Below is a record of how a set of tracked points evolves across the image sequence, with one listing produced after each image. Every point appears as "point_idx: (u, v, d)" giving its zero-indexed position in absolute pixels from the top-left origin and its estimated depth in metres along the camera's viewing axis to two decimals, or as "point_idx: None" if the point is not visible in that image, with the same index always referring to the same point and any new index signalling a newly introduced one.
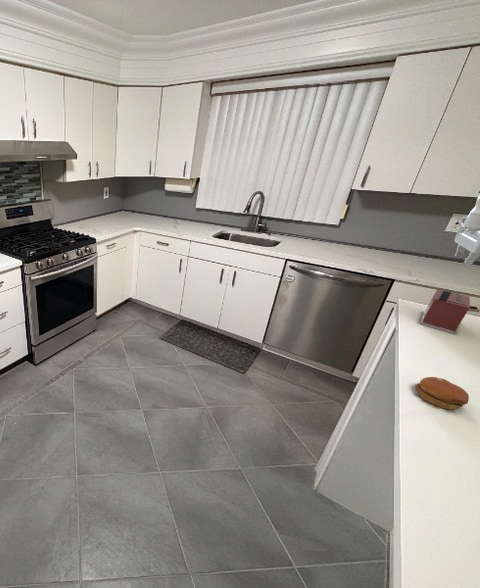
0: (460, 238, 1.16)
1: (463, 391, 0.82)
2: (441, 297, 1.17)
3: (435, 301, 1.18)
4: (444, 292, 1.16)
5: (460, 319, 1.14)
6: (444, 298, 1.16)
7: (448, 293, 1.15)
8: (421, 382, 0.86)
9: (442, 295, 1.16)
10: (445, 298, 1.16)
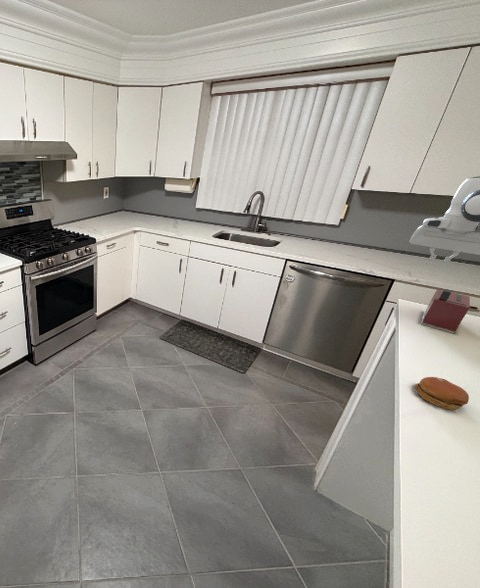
0: (428, 240, 1.15)
1: (463, 391, 0.82)
2: (441, 297, 1.17)
3: (435, 301, 1.18)
4: (444, 292, 1.16)
5: (460, 319, 1.14)
6: (444, 298, 1.16)
7: (448, 293, 1.15)
8: (421, 382, 0.86)
9: (442, 295, 1.16)
10: (445, 298, 1.16)
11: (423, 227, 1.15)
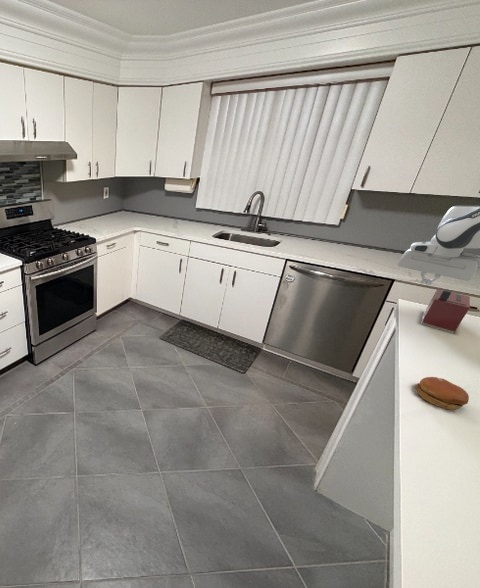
0: (415, 263, 1.19)
1: (463, 391, 0.82)
2: (441, 297, 1.17)
3: (435, 301, 1.18)
4: (444, 292, 1.16)
5: (460, 319, 1.14)
6: (444, 298, 1.16)
7: (448, 293, 1.15)
8: (421, 382, 0.86)
9: (442, 295, 1.16)
10: (445, 298, 1.16)
11: (410, 251, 1.18)
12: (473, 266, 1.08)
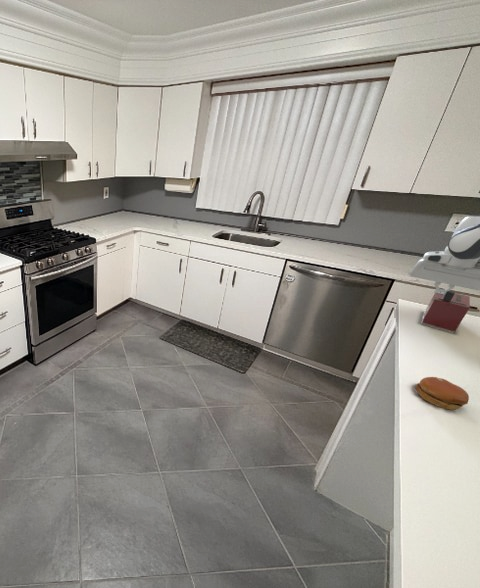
0: (428, 273, 1.17)
1: (463, 391, 0.82)
2: (445, 298, 1.16)
3: (435, 301, 1.18)
4: (448, 293, 1.15)
5: (460, 319, 1.14)
6: (448, 299, 1.16)
7: (452, 294, 1.15)
8: (421, 382, 0.86)
9: (446, 296, 1.16)
10: (449, 299, 1.15)
11: (424, 261, 1.17)
12: None
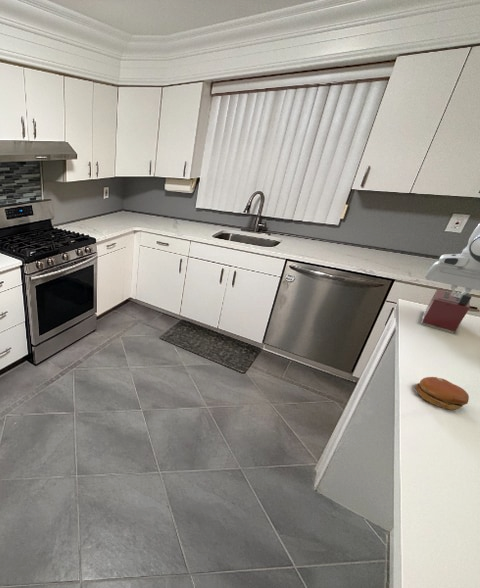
0: (444, 276, 1.14)
1: (463, 391, 0.82)
2: (461, 302, 1.13)
3: (435, 301, 1.18)
4: (464, 297, 1.12)
5: (460, 319, 1.14)
6: (464, 303, 1.13)
7: (468, 298, 1.12)
8: (421, 382, 0.86)
9: (462, 300, 1.13)
10: (465, 303, 1.13)
11: (440, 264, 1.14)
12: None
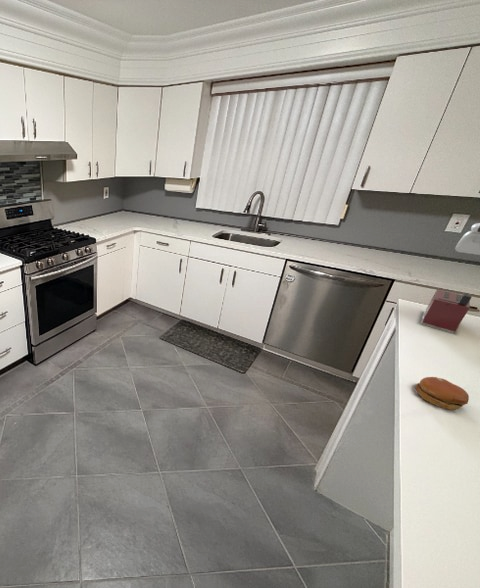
0: (478, 247, 1.04)
1: (463, 391, 0.82)
2: (461, 302, 1.13)
3: (435, 301, 1.18)
4: (464, 297, 1.12)
5: (460, 319, 1.14)
6: (464, 303, 1.13)
7: (468, 298, 1.12)
8: (421, 382, 0.86)
9: (462, 300, 1.13)
10: (465, 303, 1.13)
11: (472, 233, 1.03)
12: None
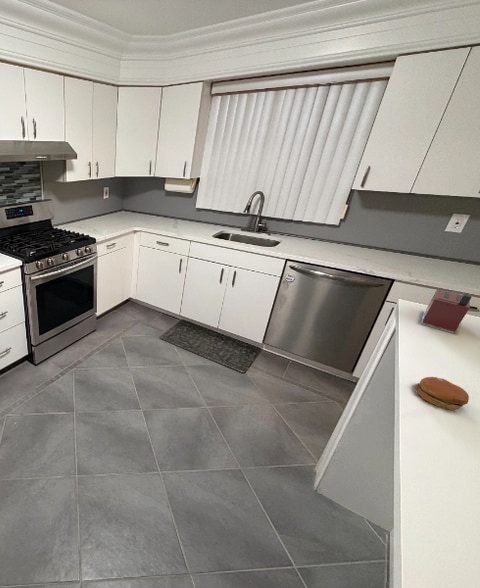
0: None
1: (463, 391, 0.82)
2: (461, 302, 1.13)
3: (435, 301, 1.18)
4: (464, 297, 1.12)
5: (460, 319, 1.14)
6: (464, 303, 1.13)
7: (468, 298, 1.12)
8: (421, 382, 0.86)
9: (462, 300, 1.13)
10: (465, 303, 1.13)
11: None
12: None
